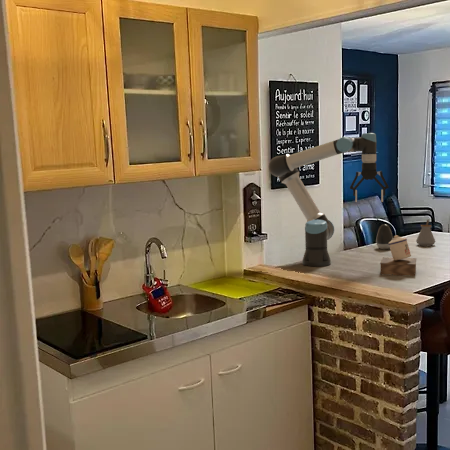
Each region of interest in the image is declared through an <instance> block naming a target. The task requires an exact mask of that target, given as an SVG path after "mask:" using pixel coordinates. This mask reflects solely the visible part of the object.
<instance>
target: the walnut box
mask: <svg viewBox="0 0 450 450" xmlns="http://www.w3.org/2000/svg"><path fill="white" fill-rule="evenodd" d="M379 265H380V275H381V274H391V275H390V276H403V275H410V276H409V277H411V276H412V277H415V276H416V272H417V258H416V257H414V258H413V257H408V258H404V259H401V260H393V257H385V256H384V257H382V258H381V261H380V262H379ZM392 274H393V275H392Z"/></svg>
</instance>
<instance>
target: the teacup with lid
mask: <svg viewBox="0 0 450 450" xmlns="http://www.w3.org/2000/svg"><path fill="white" fill-rule="evenodd" d="M388 245H389V246H390V248H389V249H390V250H389V251H390V254H391V256H392V257H391V258H393V260H401V259H404V258H411V256H412V254H411V251H410V248H409V243H408V239H407V238H405V237H401V236H399V235H397V234H396V235H394V236H393V239H392V240H391V241H390V242H389V243H388Z"/></svg>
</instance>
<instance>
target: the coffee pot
mask: <svg viewBox="0 0 450 450" xmlns="http://www.w3.org/2000/svg"><path fill="white" fill-rule="evenodd" d="M429 223H430V219H426V224H420V227H421V229H420V232H419V234H418V236H417V237H416V238H417V239H416V240H415V241H416V243H417V244H418V246H420V247H432V246H433V245H435V243H436V239H435V237H434V235H433V233H432V225H431V224H429ZM431 245H432V246H431Z"/></svg>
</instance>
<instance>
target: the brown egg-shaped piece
mask: <svg viewBox="0 0 450 450" xmlns="http://www.w3.org/2000/svg"><path fill="white" fill-rule="evenodd" d="M393 238H394V236H393V233H392V230H391V228H390V226H389V224H385V223H384V224H381V225H380V226H379V227H378V230H377V235H376V239H375V244H376V247H377V248H379V249H381V250H389V249H390V246H389V245H388V243H389V242H390V241H391V240H392V239H393Z"/></svg>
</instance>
